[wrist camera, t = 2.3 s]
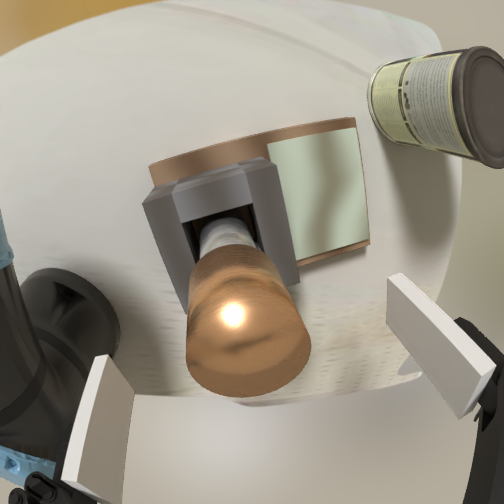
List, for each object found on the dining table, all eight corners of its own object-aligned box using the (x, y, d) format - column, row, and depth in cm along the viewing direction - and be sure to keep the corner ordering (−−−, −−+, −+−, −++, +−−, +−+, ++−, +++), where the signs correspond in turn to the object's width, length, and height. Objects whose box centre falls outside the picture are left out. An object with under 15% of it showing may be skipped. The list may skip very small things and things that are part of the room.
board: (194, 286, 32) (193, 331, 25) (152, 163, 26) (133, 177, 19) (361, 238, 33) (398, 268, 26) (346, 117, 27) (388, 118, 20)
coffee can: (403, 46, 24) (494, 30, 12) (444, 116, 28) (533, 130, 16) (348, 89, 26) (441, 77, 13) (398, 162, 30) (490, 194, 17)
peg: (203, 253, 29) (210, 407, 13) (187, 203, 27) (165, 328, 10) (254, 238, 29) (316, 378, 13) (241, 187, 27) (302, 290, 11)
